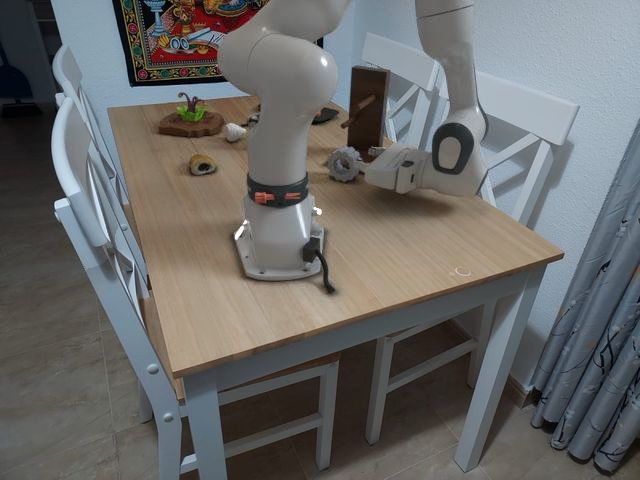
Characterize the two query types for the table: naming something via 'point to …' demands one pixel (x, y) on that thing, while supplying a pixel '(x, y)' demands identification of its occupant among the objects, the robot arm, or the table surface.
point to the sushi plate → (318, 114)
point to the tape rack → (366, 111)
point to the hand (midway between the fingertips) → (362, 156)
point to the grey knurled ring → (337, 168)
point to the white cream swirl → (233, 132)
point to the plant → (191, 120)
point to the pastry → (201, 164)
